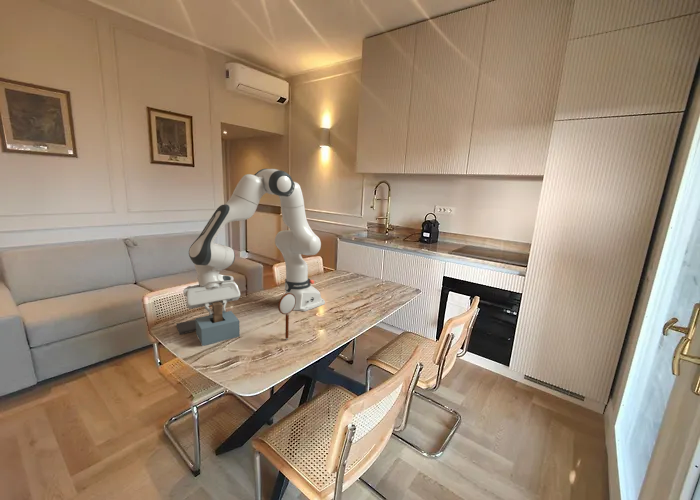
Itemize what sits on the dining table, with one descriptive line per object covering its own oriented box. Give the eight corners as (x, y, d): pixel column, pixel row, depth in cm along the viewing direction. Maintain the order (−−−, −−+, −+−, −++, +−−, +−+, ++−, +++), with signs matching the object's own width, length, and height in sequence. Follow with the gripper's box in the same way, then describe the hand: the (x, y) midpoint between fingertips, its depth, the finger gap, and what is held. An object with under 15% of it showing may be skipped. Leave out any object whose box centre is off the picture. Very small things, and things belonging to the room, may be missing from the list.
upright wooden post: (221, 322, 122) (220, 301, 120) (222, 324, 120) (222, 304, 118) (213, 323, 120) (212, 303, 118) (215, 326, 118) (213, 305, 116)
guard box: (231, 325, 129) (231, 310, 128) (239, 336, 121) (239, 320, 119) (196, 334, 121) (195, 318, 119) (202, 346, 112) (201, 329, 111)
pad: (199, 320, 132) (199, 318, 132) (203, 328, 125) (203, 326, 125) (176, 325, 127) (176, 323, 126) (179, 334, 120) (179, 332, 119)
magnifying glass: (293, 335, 124) (294, 290, 120) (296, 336, 123) (297, 291, 119) (277, 342, 117) (277, 295, 113) (279, 344, 116) (280, 296, 112)
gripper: (183, 283, 115) (189, 316, 110) (236, 275, 128) (244, 304, 122) (182, 290, 120) (188, 322, 114) (233, 282, 132) (241, 310, 127)
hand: (217, 313), depth 118 cm, fingers closed on upright wooden post, 3 cm apart
